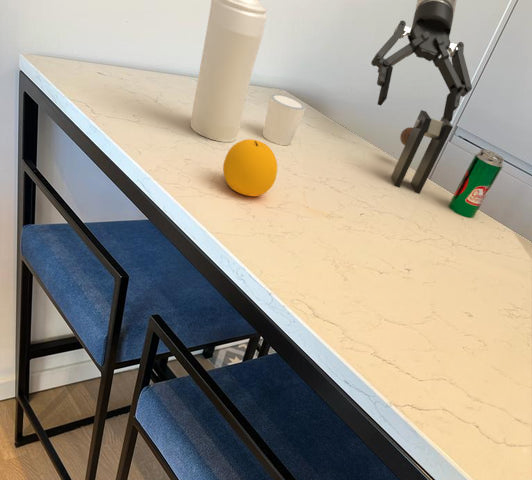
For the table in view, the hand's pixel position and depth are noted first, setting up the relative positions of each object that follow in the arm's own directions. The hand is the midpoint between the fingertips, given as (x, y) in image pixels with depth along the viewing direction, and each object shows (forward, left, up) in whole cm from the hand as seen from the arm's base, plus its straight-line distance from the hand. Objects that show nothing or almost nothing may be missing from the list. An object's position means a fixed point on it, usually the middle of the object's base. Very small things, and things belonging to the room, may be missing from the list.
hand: (414, 112), depth 110 cm
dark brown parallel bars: (-10, +9, -11) cm, 17 cm away
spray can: (+14, +36, -11) cm, 40 cm away
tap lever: (-7, +6, -3) cm, 9 cm away
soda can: (-20, +4, -11) cm, 23 cm away
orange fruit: (-5, +44, -11) cm, 46 cm away
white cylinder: (+12, +22, -11) cm, 27 cm away
